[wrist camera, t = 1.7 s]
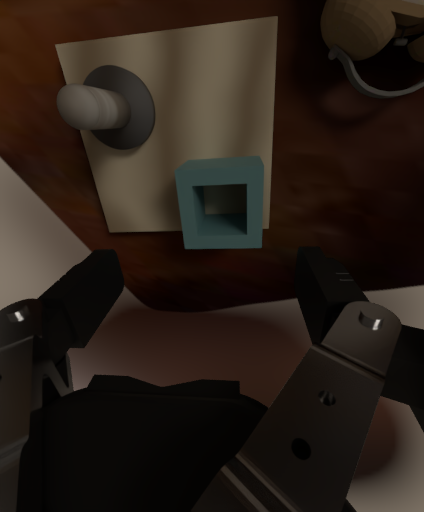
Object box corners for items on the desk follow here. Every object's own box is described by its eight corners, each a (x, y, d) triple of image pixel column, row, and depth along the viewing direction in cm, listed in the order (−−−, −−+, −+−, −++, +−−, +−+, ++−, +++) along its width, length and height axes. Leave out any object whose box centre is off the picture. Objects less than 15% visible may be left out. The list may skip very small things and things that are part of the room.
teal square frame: (259, 155, 20) (264, 165, 16) (257, 223, 23) (261, 248, 19) (188, 159, 21) (174, 170, 17) (195, 225, 24) (185, 249, 20)
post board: (275, 23, 17) (299, -47, 10) (267, 222, 25) (278, 267, 17) (67, 49, 19) (-40, 7, 12) (116, 226, 27) (67, 268, 19)
